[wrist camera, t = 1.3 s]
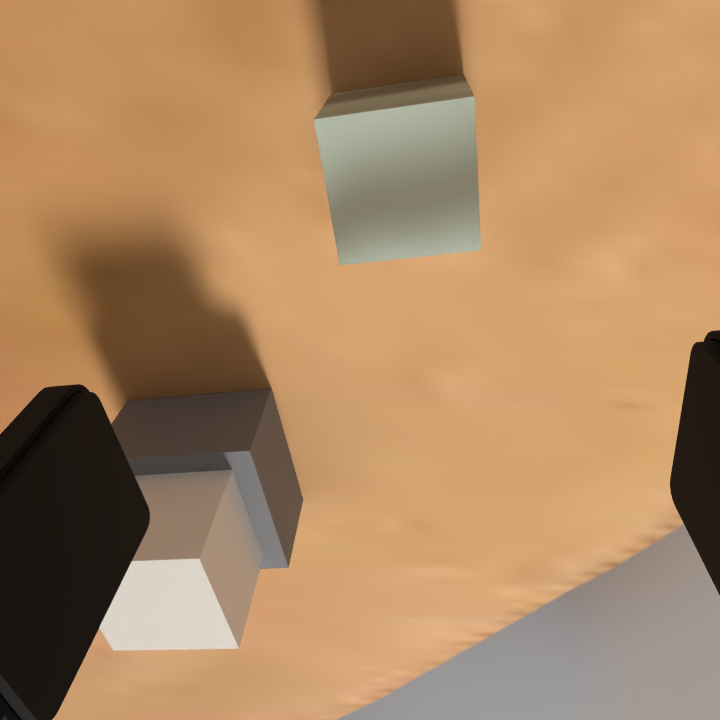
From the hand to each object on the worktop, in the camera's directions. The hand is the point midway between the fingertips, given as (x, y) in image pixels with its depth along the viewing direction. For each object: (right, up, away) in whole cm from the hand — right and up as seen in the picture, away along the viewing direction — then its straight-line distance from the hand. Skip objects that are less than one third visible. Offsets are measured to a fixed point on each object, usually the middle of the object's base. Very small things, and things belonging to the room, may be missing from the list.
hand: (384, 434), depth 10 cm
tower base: (-8, -4, +24) cm, 26 cm away
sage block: (+1, +10, +14) cm, 17 cm away
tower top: (-9, -7, +20) cm, 23 cm away
